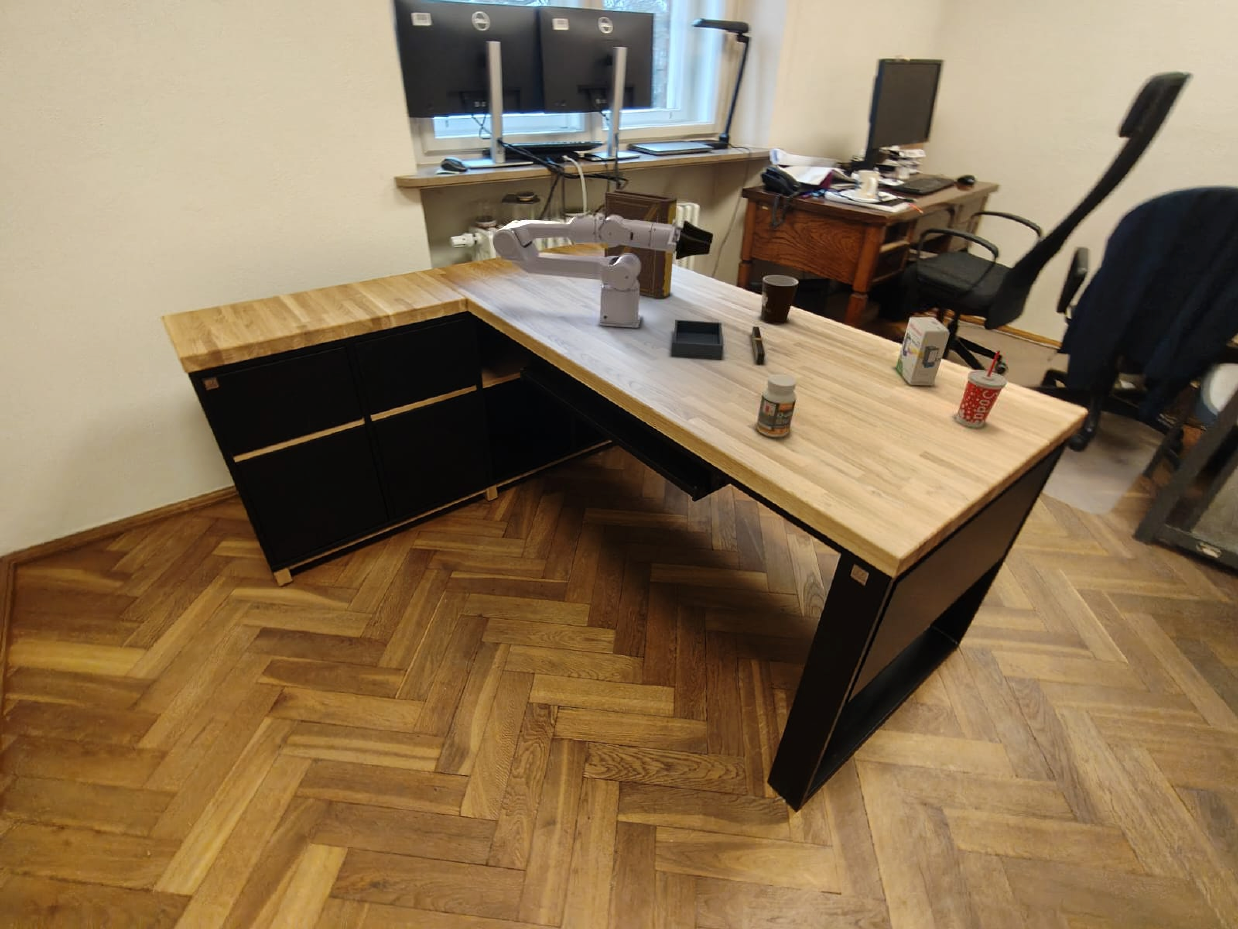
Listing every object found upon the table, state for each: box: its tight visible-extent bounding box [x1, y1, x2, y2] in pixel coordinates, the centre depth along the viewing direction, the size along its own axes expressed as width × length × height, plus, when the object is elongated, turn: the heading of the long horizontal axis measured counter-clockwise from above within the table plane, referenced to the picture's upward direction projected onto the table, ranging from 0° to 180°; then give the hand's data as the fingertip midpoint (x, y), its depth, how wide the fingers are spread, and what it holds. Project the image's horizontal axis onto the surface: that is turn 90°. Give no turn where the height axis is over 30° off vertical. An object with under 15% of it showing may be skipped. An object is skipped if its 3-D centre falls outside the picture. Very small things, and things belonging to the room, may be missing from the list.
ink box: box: [895, 316, 951, 386], centre depth 120 cm, size 9×5×12 cm, turn 178°
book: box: [598, 189, 678, 300], centre depth 160 cm, size 22×8×25 cm, turn 58°
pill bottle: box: [756, 373, 797, 438], centre depth 101 cm, size 6×6×10 cm
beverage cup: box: [955, 349, 1008, 429], centre depth 104 cm, size 6×6×14 cm
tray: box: [671, 319, 724, 361], centre depth 134 cm, size 11×14×3 cm
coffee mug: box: [760, 274, 799, 325], centre depth 148 cm, size 12×9×10 cm
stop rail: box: [750, 326, 766, 365], centre depth 133 cm, size 2×16×3 cm, turn 173°
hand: (711, 243), depth 132 cm, fingers open, 7 cm apart
